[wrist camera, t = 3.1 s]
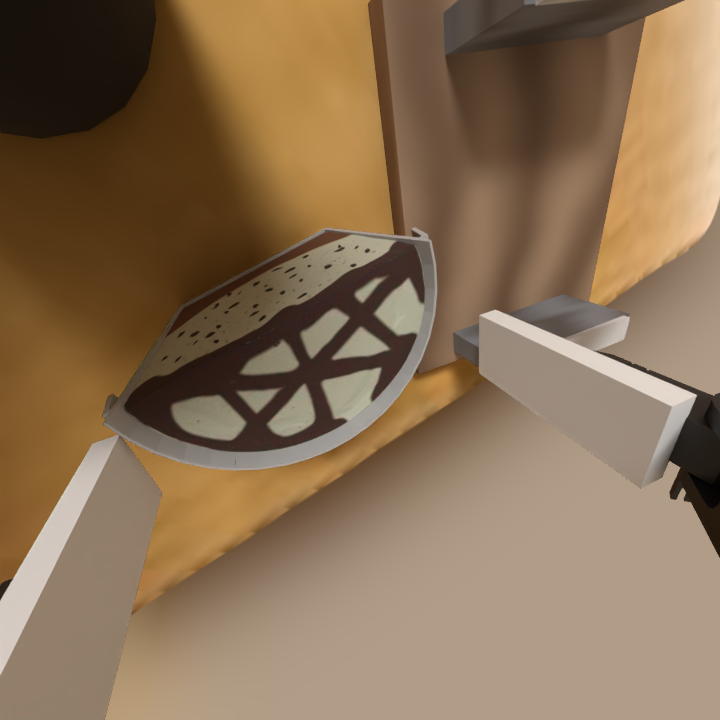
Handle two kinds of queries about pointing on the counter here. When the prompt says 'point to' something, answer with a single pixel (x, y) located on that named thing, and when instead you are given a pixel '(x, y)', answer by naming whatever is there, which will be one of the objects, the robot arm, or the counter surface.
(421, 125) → the holder
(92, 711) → the robot arm
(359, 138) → the counter surface
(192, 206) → the counter surface
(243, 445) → the food container
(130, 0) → the coffee jar
